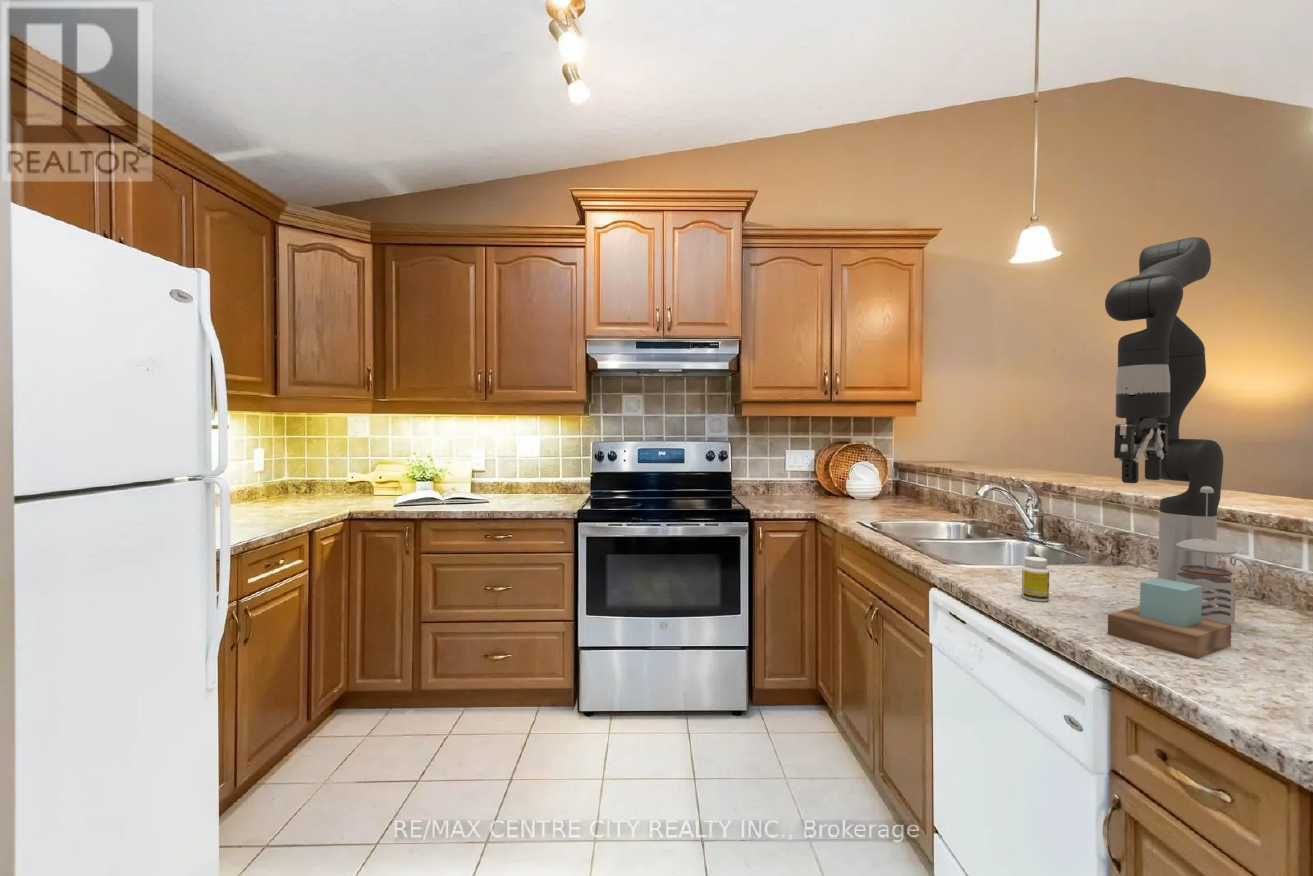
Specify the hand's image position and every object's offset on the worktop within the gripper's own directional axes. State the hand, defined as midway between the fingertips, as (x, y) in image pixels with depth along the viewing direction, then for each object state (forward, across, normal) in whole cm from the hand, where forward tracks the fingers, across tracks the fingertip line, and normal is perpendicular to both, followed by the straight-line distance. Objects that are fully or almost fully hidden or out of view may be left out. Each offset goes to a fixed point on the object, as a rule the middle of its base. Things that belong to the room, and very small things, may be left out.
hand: (1141, 481), depth 105 cm
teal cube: (+22, +6, +6) cm, 24 cm away
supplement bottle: (+26, +1, -18) cm, 32 cm away
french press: (+26, -12, +6) cm, 30 cm away
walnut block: (+26, +6, +6) cm, 28 cm away
